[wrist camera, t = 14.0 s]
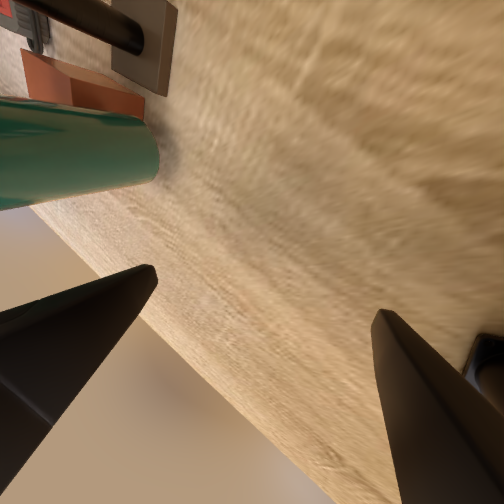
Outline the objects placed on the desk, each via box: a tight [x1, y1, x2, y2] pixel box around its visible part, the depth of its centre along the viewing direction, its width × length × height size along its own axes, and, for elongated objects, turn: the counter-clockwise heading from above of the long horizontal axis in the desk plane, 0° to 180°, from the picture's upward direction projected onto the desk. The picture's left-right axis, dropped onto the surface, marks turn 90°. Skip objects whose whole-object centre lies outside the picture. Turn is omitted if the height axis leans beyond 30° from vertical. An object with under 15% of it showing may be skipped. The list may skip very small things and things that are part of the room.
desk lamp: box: [12, 0, 178, 121], centre depth 14 cm, size 9×15×17 cm, turn 156°
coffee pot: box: [0, 94, 159, 211], centre depth 14 cm, size 10×6×13 cm, turn 66°
